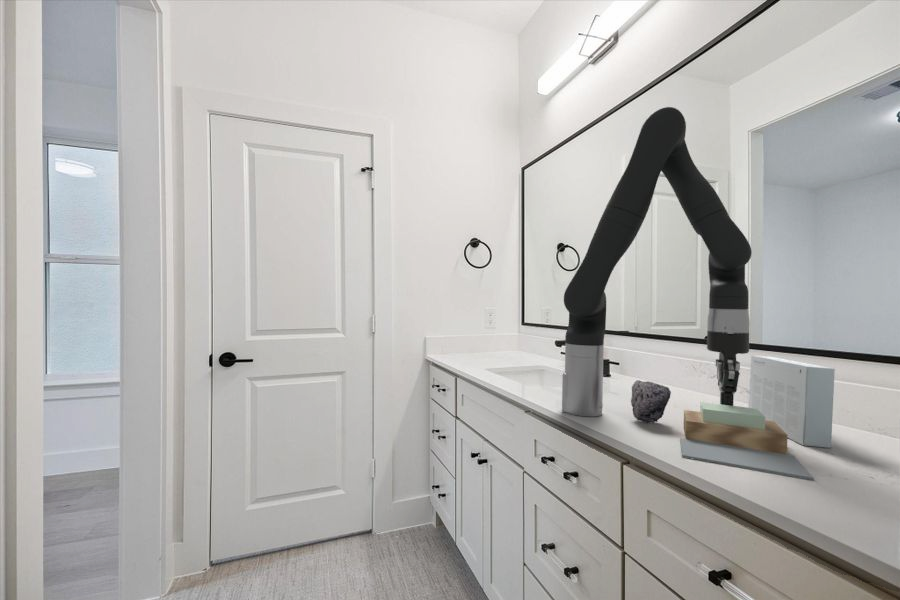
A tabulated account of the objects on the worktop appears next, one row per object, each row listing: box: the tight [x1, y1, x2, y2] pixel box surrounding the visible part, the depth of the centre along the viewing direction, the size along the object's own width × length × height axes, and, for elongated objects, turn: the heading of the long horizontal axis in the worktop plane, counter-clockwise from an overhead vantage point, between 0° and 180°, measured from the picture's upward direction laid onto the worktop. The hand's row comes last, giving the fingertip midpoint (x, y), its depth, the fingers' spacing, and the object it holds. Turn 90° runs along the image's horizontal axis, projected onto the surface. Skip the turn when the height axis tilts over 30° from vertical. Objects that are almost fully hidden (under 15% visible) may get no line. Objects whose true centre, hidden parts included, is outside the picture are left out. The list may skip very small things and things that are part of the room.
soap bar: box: [699, 401, 765, 430], centre depth 81 cm, size 10×7×2 cm
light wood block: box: [683, 409, 788, 455], centre depth 81 cm, size 16×10×4 cm, turn 62°
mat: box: [679, 437, 815, 481], centre depth 72 cm, size 18×11×1 cm, turn 62°
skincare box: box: [747, 355, 836, 449], centre depth 89 cm, size 21×5×16 cm, turn 168°
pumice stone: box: [630, 380, 672, 424], centre depth 93 cm, size 10×8×10 cm
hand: (726, 409), depth 86 cm, fingers closed
